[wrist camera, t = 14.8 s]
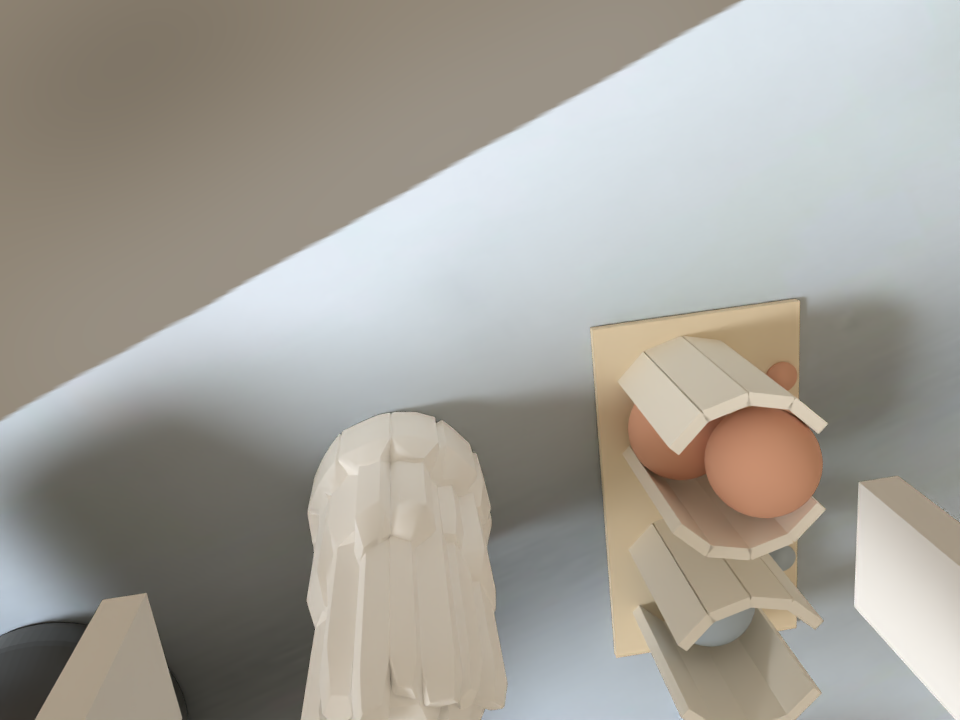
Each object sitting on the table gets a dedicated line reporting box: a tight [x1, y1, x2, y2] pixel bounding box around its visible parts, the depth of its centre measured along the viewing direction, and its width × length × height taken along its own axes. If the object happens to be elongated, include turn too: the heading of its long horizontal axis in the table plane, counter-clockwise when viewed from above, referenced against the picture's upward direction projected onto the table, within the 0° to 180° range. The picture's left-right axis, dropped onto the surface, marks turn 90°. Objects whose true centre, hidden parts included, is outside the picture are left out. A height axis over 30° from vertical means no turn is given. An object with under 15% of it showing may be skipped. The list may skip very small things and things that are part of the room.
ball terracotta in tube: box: [628, 404, 729, 480], centre depth 49 cm, size 6×6×6 cm
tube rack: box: [590, 299, 828, 720], centre depth 50 cm, size 13×24×11 cm, turn 7°
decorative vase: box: [301, 412, 507, 720], centre depth 41 cm, size 11×11×25 cm
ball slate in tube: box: [694, 608, 755, 647], centre depth 53 cm, size 6×6×6 cm
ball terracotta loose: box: [704, 406, 823, 518], centre depth 44 cm, size 6×6×6 cm
